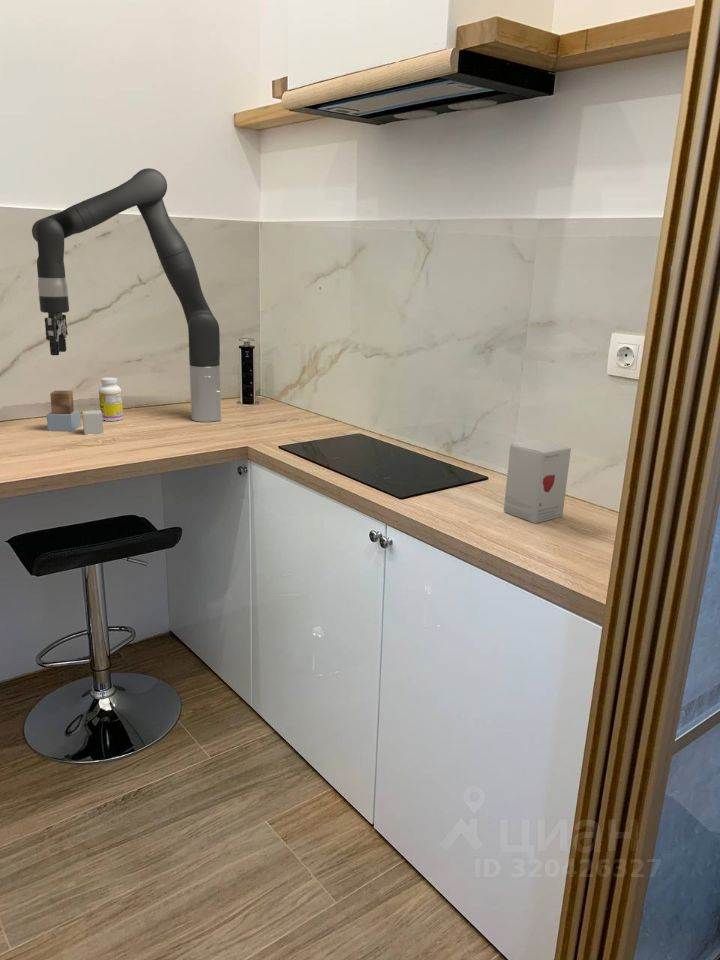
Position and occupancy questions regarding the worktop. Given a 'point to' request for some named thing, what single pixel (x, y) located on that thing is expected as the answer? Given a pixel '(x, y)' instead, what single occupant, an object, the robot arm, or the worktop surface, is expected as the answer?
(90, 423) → the grey block
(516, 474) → the supplement box
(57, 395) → the walnut block
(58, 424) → the base block
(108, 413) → the supplement bottle
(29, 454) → the worktop surface
